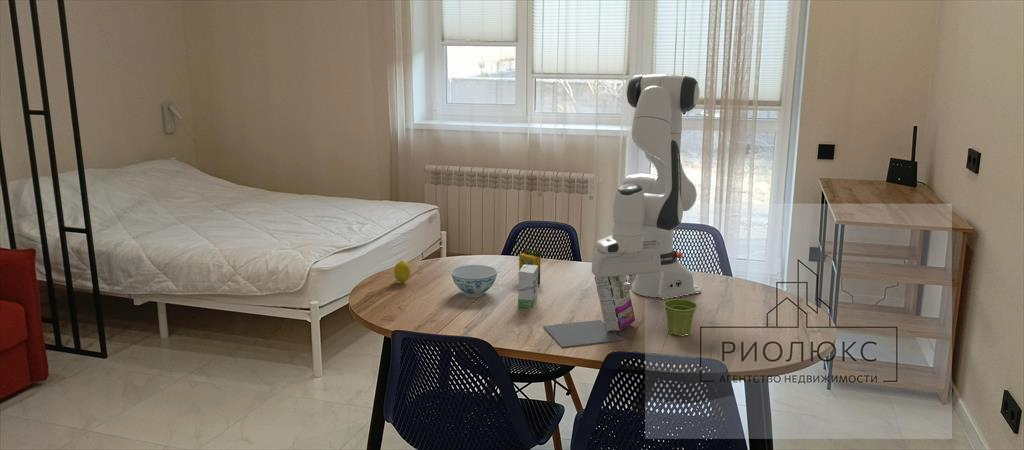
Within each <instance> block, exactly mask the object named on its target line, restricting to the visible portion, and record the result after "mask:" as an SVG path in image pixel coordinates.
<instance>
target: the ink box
mask: <svg viewBox="0 0 1024 450" xmlns="http://www.w3.org/2000/svg"><path fill="white" fill-rule="evenodd" d="M538 285H539V284H538V266H537V265H527V264H524V265H523V266H522V267H521V269H520V270H519V269H518V285H517V286H518V289H517V290H518V291H517V307H518V308H527V309H528V308H529V309H533V308H534V305H535V304H536V302H537V300H538V288H539V286H538Z"/></svg>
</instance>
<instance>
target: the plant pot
mask: <svg viewBox="0 0 1024 450" xmlns="http://www.w3.org/2000/svg"><path fill="white" fill-rule="evenodd" d="M663 306H664V308H665V309H664V310H665V311H666V312H665V313H666V321H667V330H668V331H669V332H670V333H672V334H675V335H674V336H678V335H685V334H689V333H691V329H692V324H693V319H694V314H695V313H696V309H698V304H697V303H696V302H695V301H692V300H689V299H684V298H683V299H682V298H671V299H666V300H665V301H664V302H663ZM669 332H668V333H669ZM670 333H669V334H670ZM689 335H690V334H689Z"/></svg>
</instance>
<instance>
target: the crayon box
mask: <svg viewBox="0 0 1024 450" xmlns="http://www.w3.org/2000/svg"><path fill="white" fill-rule="evenodd" d="M523 249H524V253H523V252H522V253H520V254H519V255H518V258H519V260H518V261H519V263H518V271H519V270H520V269H521V267H522V266H523V265H524V264H527V265H537V266H538V285H541V257H542V256H541V255H542V254H541V251H538V250H534V249H530V248H526V247H524V248H523ZM532 252H533V253H532Z"/></svg>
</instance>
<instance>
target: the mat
mask: <svg viewBox="0 0 1024 450" xmlns="http://www.w3.org/2000/svg"><path fill="white" fill-rule="evenodd" d="M542 327H543V329H544V330H545V331H546V332H547V333H548V334H549V335H550V336H551V338H552V339H553V340H554V341H555V342H556V344H558V345H559V346H560V348H562V349H565V348H575V347H582V346H590V345H598V344H608V343H615V342H623V341H624V338H622V337H621V336H619V334H618V333H617V332H616V331H606V328H605V323H604V321H602V320H601V319H596V320H586V321H579V322H569V323H560V324H558V323H557V324H552V325H551V324H550V325H543V326H542Z"/></svg>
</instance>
